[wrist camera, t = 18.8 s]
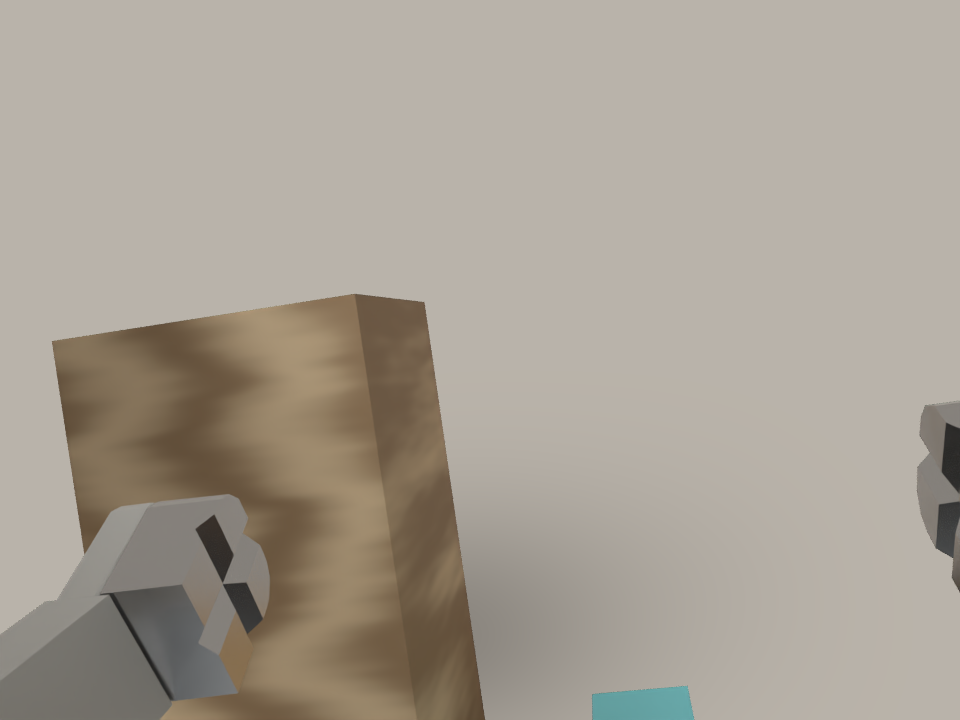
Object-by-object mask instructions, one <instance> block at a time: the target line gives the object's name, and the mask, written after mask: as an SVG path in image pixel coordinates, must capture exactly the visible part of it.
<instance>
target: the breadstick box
mask: <svg viewBox="0 0 960 720" xmlns="http://www.w3.org/2000/svg"><path fill="white" fill-rule="evenodd" d="M592 705H593V706H592V707H593V708H592V709H593V711H592V714H593V720H694V716H693V712H692V706H691V702H690V697H689V691H688V687H687V686H681V687H669V688H657V689H646V690H634V691H623V692H611V693H599V694H593V695H592Z"/></svg>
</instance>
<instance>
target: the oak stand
mask: <svg viewBox="0 0 960 720" xmlns="http://www.w3.org/2000/svg"><path fill="white" fill-rule="evenodd" d="M52 345H53V352H54V358H55V365H56V371H57V378H58V384H59V391H60V397H61V404H62V411H63V417H64V424H65V430H66V437H67V443H68V450H69V456H70V463H71V469H72V476H73V483H74V489H75V496H76V502H77V509H78V515H79V521H80V528H81V535H82V541H83V548H84V555H85V553H86V551H87V550H88V548H89V547H90V545H91V543H92V542H93V540H94V538H95V537H96V535H97V533H98V532H99V530H100V529H101V527H102V525H103V524H104V522H105V520H106V519H107V517H108V515H109V514H110V512H111V511H113V510H115V509H117V508H119V507H121V506H127V505H136V504H144V503H156V502H159V501H169V500H178V499H188V498H197V497H207V496H216V495H226V494H230V495H232V496H234V497H236V498H239V500H240V502H241V505H242V507H243V509H244V511H245V513H246V515H247V517H248V521H247V523H246V526H245V528H244V531H243V534H245V535H246V536H248V537H249V538H251V539H252V540H254V541H255V542H256V543H258V544H259V545H260V546H261V548H262V551H263V553H264V555H265V558H266V561H267V565H268V570H269V575H270V590H269V602H268V606H267V609H266V612H265V615H264V619H263V620H262V621H261V622H260V623H259V624H258V625H257V626H256V627H255V628H253V629H252V630H251V631H250V632H249V633H248V634H247V635H248V637H249V639H250V642H251V644H252V646H253V648H254V649H253V652H252V654H251V657H250V660H249V663H248V666H247V669H246V672H245V675H244V678H243V681H242V684H241V687H240V690H239V693H236V694H228V695H220V696H211V697H203V698H195V699H187V700H179V701H171V702H172V706H171V707H170V708H169V710H168V711H167V712H166V713H165V714H164V715H163V716H162V717H161V718H160V720H485V717H484V710H483V703H482V696H481V689H480V682H479V675H478V669H477V662H476V655H475V648H474V641H473V635H472V627H471V620H470V613H469V607H468V600H467V593H466V586H465V579H464V572H463V565H462V558H461V551H460V545H459V538H458V531H457V524H456V517H455V510H454V503H453V496H452V489H451V482H450V476H449V469H448V462H447V455H446V448H445V441H444V434H443V427H442V420H441V414H440V407H439V400H438V393H437V386H436V379H435V372H434V365H433V359H432V351H431V345H430V338H429V331H428V324H427V317H426V310H425V304H424V302H418V301H410V300H401V299H392V298H385V297H375V296H368V295H359V294H351V295H345V296H339V297H332V298H325V299H320V300H313V301H306V302H300V303H294V304H288V305H281V306H274V307H268V308H261V309H255V310H250V311H243V312H236V313H230V314H223V315H217V316H210V317H204V318H198V319H191V320H185V321H179V322H172V323H165V324H159V325H153V326H146V327H140V328H133V329H127V330H121V331H114V332H108V333H102V334H96V335H89V336H82V337H76V338H69V339H63V340H57V341H52Z"/></svg>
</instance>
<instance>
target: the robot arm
mask: <svg viewBox="0 0 960 720" xmlns="http://www.w3.org/2000/svg"><path fill="white" fill-rule="evenodd" d="M920 437H921V439H922V440H923V442H924V444H925V445H926V447H927V449H928V450H929V452H930V453H929V455H928V456H927V457H926V458H925V459H924V460H923V461H922V462H921V464H920V465H919V466H918V470H917V493H918V499H919V505H920V511H921V515H922V518H923V521H924V524H925V527H926V529H927V532H928V534H929V536H930V538H931V540H932V542H933V544H934V546H935V547H936V549H938V550H940V551H942V552H943V553H945V554H947V555H949V556H950V557H952V558H953V571H952V579H953V581H954V583H955V584H956V586H957V588H958V590H959V592H960V401H954V402H947V403H939V404H932V405H925V407H924V410H923V413H922V416H921V423H920ZM247 521H248V517H247V515H246V513H245V511H244V509H243V507H242V505H241V502H240V500H239V498H236V497H234V496H232V495H230V494H226V495H216V496H207V497H197V498H188V499H178V500H169V501H159V502H156V503H144V504H136V505H127V506H121V507H119V508H117V509H115V510H113V511H111V512H110V514H109V515H108V517H107V519H106V520H105V522H104V524H103V525H102V527H101V529H100V530H99V532H98V533H97V535H96V537H95V538H94V540H93V542H92V543H91V545H90V547H89V548H88V550H87V551H86V553H85V555H84V556H83V558H82V560H81V562H80V563H79V565H78V566H77V568H76V570H75V571H74V573H73V575H72V576H71V578H70V579H69V581H68V583H67V584H66V586H65V588H64V589H63V591H62V592H61V594H60V596H59V597H58V599H57V600H55V601H47V602H44V603H43V604H41V605H40V606H39V607H37V608H36V609H35V610H33V611H32V612H30V613H29V614H28V615H26V616H25V617H24V618H22V619H21V620H19V621H18V622H17V623H15V624H14V625H13V626H11V627H10V628H9V629H8V630H6V631H5V632H3V633H2V634H1V635H0V720H160V718H161V717H162V716H163V715H164V714H165V713H166V712H167V711H168V710H169V708H170V707H171V706H172V702H171V701H179V700H187V699H195V698H203V697H211V696H220V695H228V694H236V693H239V690H240V687H241V684H242V681H243V678H244V675H245V672H246V669H247V666H248V663H249V660H250V657H251V654H252V652H253V649H254V648H253V646H252V644H251V642H250V639H249V637H248V635H247V634H248V633H249V632H250V631H251V630H252V629H253V628H255V627H256V626H257V625H258V624H259V623H260V622H261V621H262V620H263V619H264V615H265V612H266V609H267V606H268V602H269V590H270V575H269V570H268V565H267V561H266V558H265V555H264V553H263V551H262V548H261V546H260V545H259V544H258V543H256V542H255V541H254V540H252V539H251V538H249V537H248V536H246V535H245V534H243V531H244V528H245V526H246V523H247Z"/></svg>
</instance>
